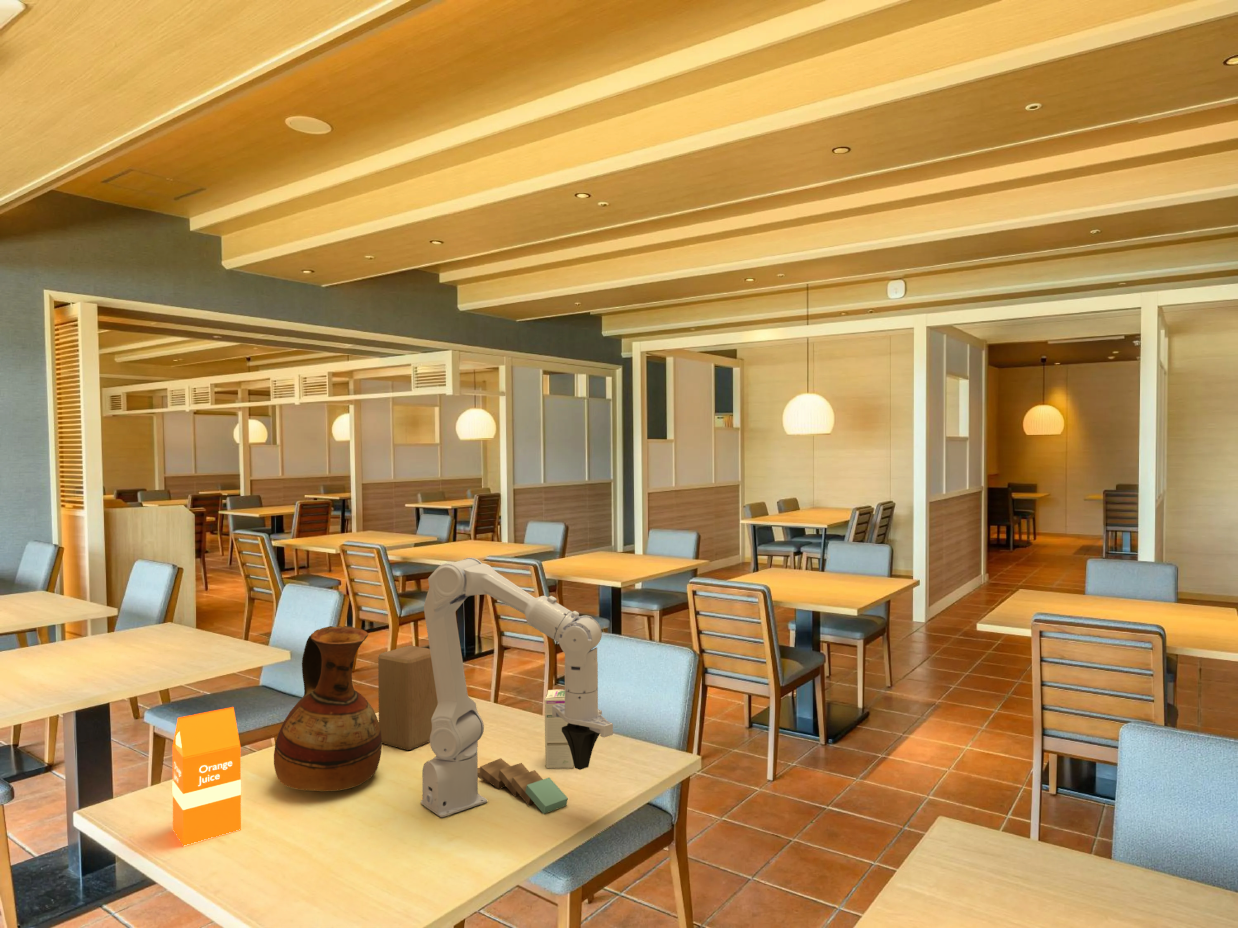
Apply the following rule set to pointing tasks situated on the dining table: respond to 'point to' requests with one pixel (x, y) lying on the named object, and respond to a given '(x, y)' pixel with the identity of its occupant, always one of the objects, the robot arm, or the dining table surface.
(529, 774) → the domino
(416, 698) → the wooden block
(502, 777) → the domino
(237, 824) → the orange juice
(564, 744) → the syrup box
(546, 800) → the green domino
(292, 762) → the ceramic pitcher
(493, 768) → the domino
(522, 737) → the dining table surface
